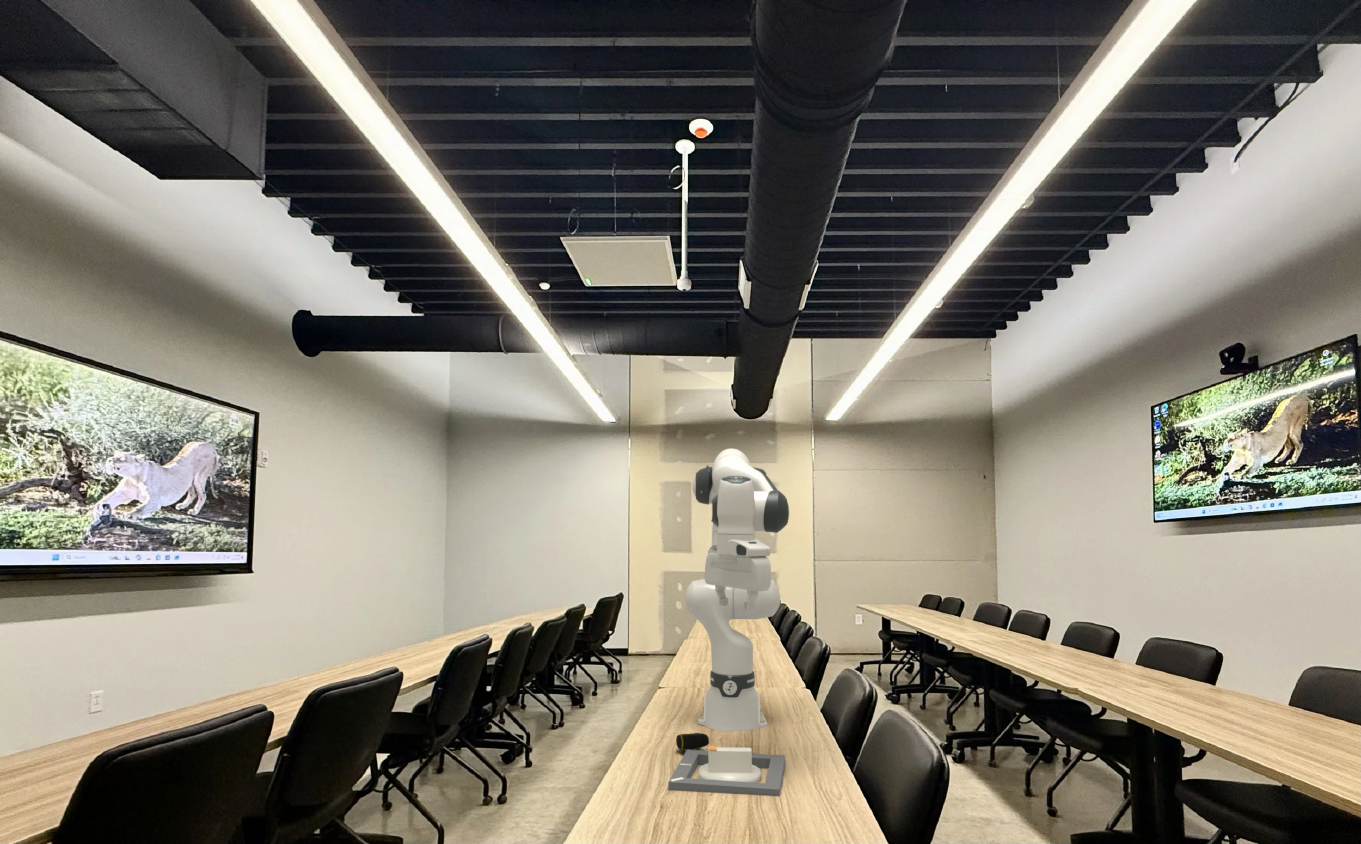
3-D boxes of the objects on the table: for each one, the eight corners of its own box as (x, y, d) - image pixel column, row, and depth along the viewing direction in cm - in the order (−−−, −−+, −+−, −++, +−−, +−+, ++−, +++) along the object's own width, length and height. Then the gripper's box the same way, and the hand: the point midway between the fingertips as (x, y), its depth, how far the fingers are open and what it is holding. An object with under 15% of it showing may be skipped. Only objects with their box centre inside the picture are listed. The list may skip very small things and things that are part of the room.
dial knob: (758, 768, 179) (758, 739, 180) (763, 789, 166) (763, 757, 167) (698, 767, 179) (698, 738, 180) (699, 788, 166) (699, 757, 167)
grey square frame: (687, 761, 185) (687, 748, 186) (785, 767, 181) (785, 754, 182) (668, 795, 164) (668, 781, 164) (779, 802, 160) (779, 788, 160)
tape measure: (711, 749, 190) (709, 731, 191) (683, 752, 188) (682, 735, 189) (699, 748, 196) (698, 731, 197) (672, 752, 194) (671, 735, 195)
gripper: (698, 544, 196) (698, 604, 194) (753, 549, 179) (753, 613, 178) (719, 544, 199) (719, 602, 198) (775, 548, 183) (775, 611, 181)
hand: (736, 607), depth 188 cm, fingers open, 8 cm apart
